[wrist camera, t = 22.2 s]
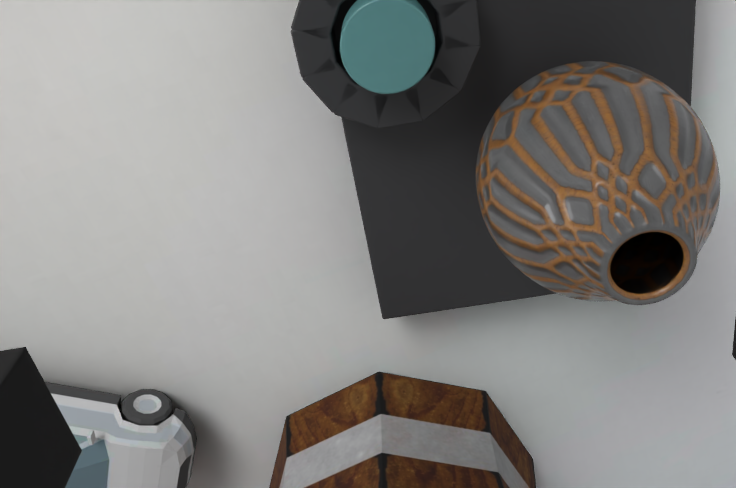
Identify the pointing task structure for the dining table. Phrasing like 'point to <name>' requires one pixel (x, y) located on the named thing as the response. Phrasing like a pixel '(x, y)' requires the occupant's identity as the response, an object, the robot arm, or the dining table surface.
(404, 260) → the dark grey button base
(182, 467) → the toy car
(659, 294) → the vase
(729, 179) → the dining table surface
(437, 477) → the mug
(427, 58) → the teal cylinder
